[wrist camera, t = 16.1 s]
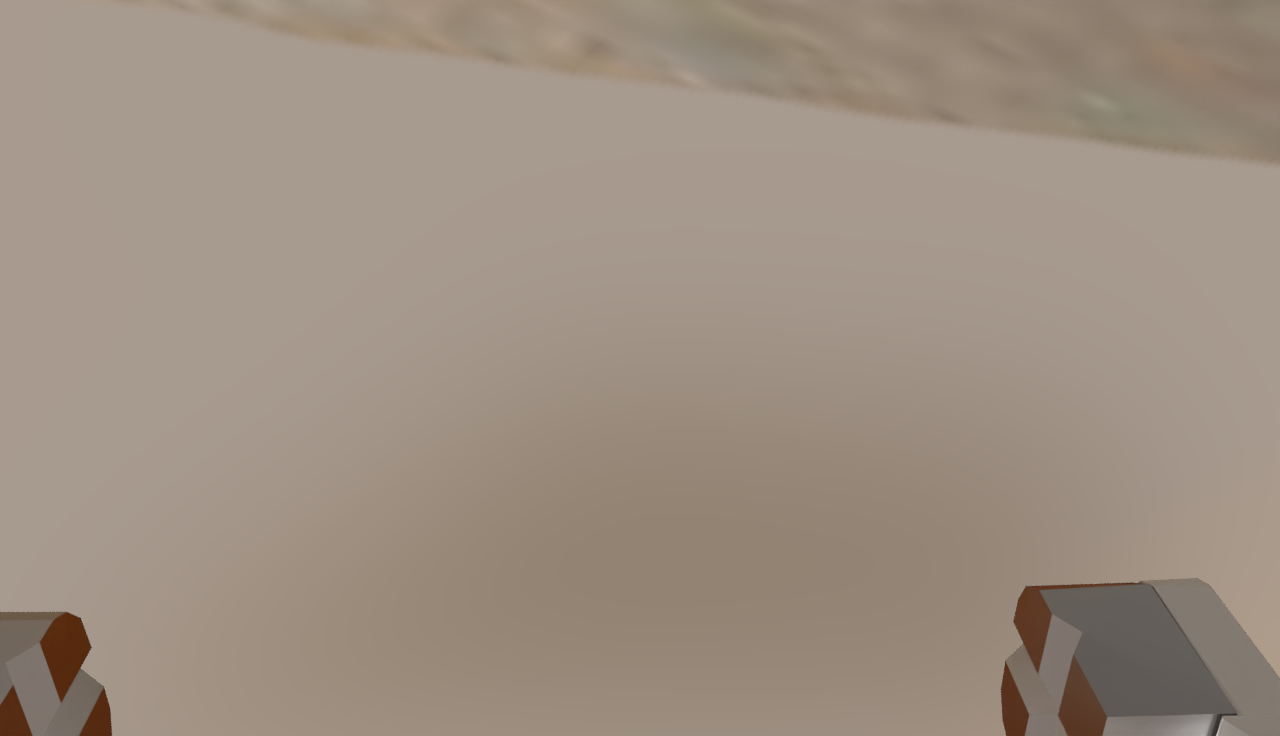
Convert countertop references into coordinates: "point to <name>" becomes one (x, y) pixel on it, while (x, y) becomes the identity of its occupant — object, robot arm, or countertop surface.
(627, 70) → the countertop surface
